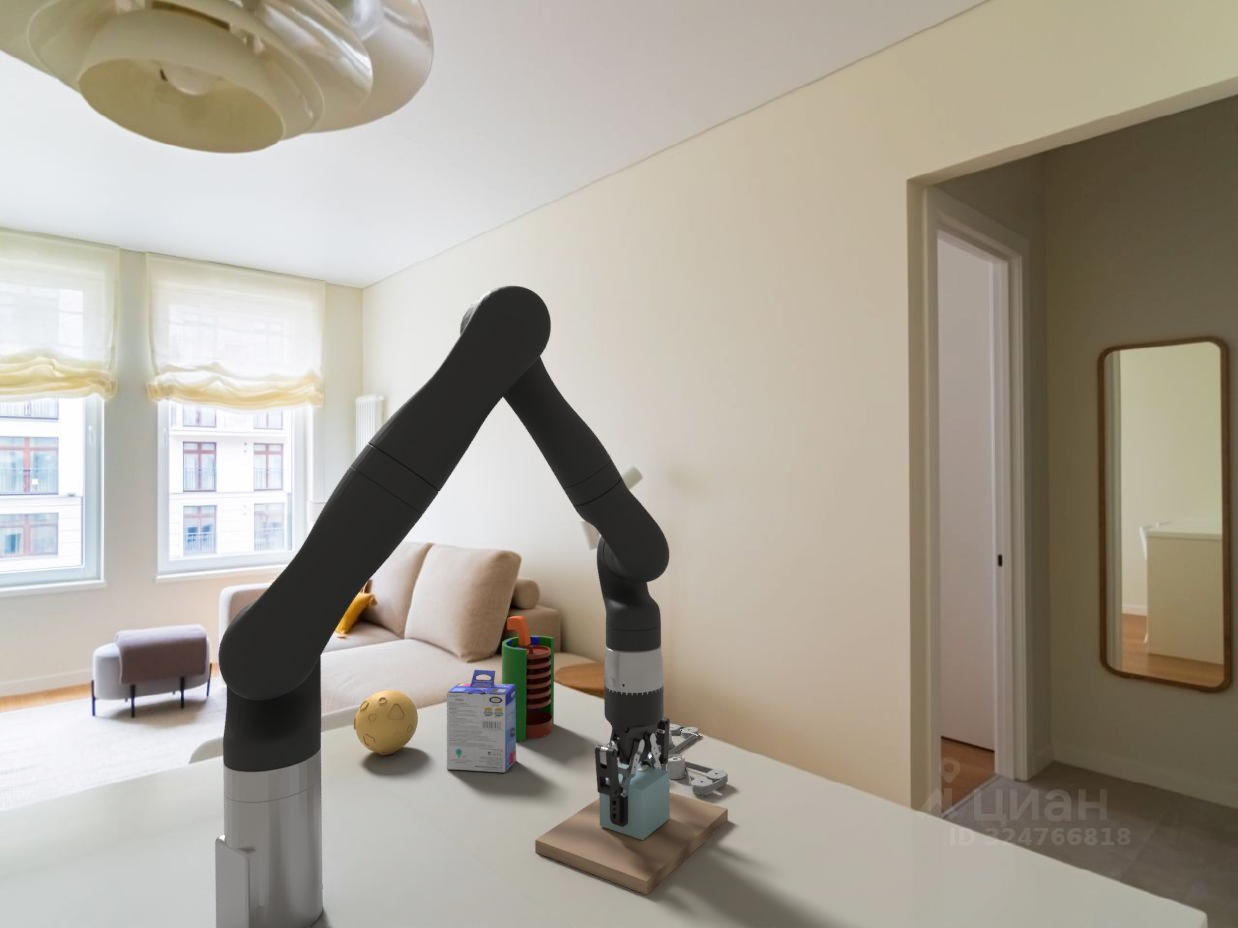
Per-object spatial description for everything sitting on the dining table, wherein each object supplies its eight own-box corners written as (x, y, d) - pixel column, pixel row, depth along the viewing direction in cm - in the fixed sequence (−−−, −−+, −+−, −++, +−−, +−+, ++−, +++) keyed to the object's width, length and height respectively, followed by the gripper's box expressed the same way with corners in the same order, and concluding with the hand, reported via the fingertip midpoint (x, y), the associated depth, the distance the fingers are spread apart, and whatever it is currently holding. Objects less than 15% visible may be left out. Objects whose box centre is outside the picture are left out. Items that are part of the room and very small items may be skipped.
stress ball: (391, 743, 126) (343, 713, 123) (429, 699, 127) (382, 668, 124) (390, 776, 117) (338, 744, 114) (431, 728, 117) (381, 695, 114)
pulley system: (629, 810, 101) (735, 798, 103) (627, 776, 101) (732, 764, 103) (610, 742, 128) (694, 733, 130) (609, 715, 129) (692, 707, 130)
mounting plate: (646, 894, 80) (646, 881, 80) (535, 851, 89) (535, 839, 89) (727, 819, 96) (727, 808, 96) (627, 790, 105) (626, 779, 105)
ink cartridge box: (518, 759, 117) (517, 669, 117) (507, 774, 111) (506, 679, 111) (459, 756, 118) (458, 666, 118) (445, 770, 113) (444, 676, 113)
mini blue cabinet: (642, 840, 88) (642, 788, 88) (599, 825, 92) (599, 776, 92) (669, 818, 93) (669, 770, 93) (628, 805, 97) (627, 758, 97)
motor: (542, 742, 124) (541, 624, 124) (492, 739, 125) (491, 623, 125) (559, 722, 133) (558, 612, 133) (513, 719, 135) (512, 611, 135)
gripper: (626, 701, 84) (627, 846, 84) (687, 671, 96) (688, 798, 96) (575, 690, 89) (576, 828, 89) (639, 663, 101) (640, 784, 101)
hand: (634, 812), depth 92 cm, fingers closed on mini blue cabinet, 6 cm apart
